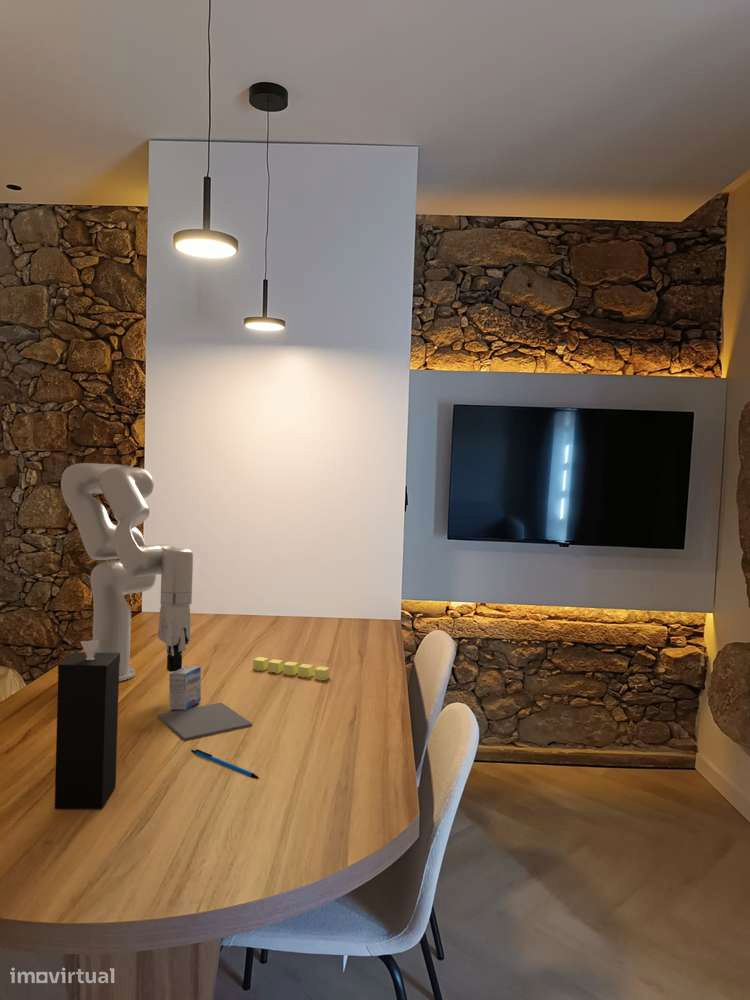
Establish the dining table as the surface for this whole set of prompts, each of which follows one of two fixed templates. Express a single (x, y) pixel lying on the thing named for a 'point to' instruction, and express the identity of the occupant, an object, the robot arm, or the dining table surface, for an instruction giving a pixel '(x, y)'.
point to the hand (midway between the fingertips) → (174, 670)
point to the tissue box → (86, 728)
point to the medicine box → (185, 687)
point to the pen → (223, 763)
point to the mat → (203, 720)
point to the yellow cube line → (291, 668)
